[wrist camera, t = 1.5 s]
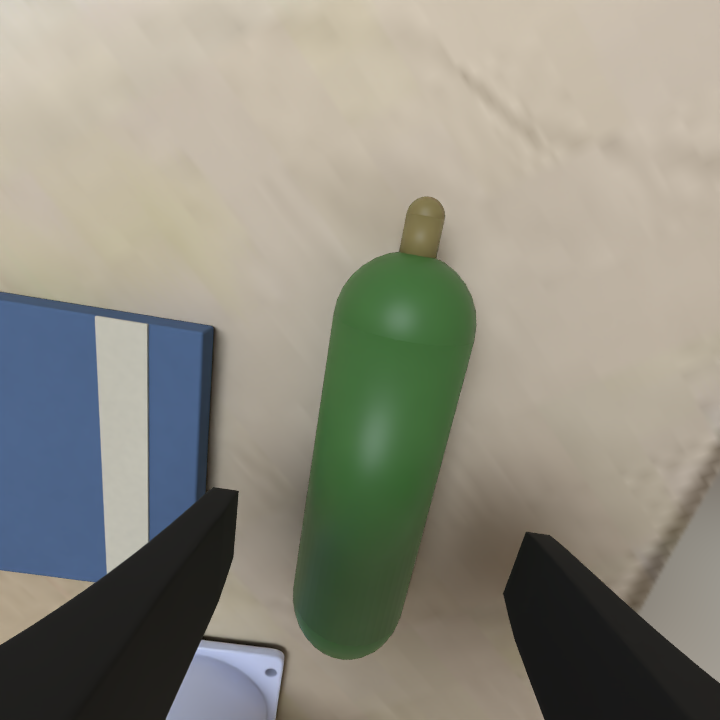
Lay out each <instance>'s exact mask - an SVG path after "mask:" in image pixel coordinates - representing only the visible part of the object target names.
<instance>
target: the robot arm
mask: <svg viewBox="0 0 720 720" xmlns="http://www.w3.org/2000/svg"><path fill="white" fill-rule="evenodd" d="M238 493H239V491H236V490H229V489H222V488H215V487H213V488H212V489H210V490H209V491H208V492H206V493H205V494H204V495H203V496H202V497H201V498H200V499H199V500H197V501H196V502H195V503H194V504H193V505H192V506H191V507H190V508H188V509H187V510H186V511H185V512H184V513H183V514H181V515H180V516H179V517H178V518H177V519H176V520H174V521H173V522H172V523H171V524H170V525H169V526H167V527H166V528H165V529H164V530H163V531H161V532H160V533H159V534H158V535H156V536H155V537H154V538H153V539H151V540H150V541H149V542H148V543H147V544H145V545H144V546H143V547H142V548H140V549H139V550H138V551H137V552H135V553H134V554H133V555H132V556H130V557H129V558H128V559H126V560H125V561H124V562H122V563H121V564H120V565H118V566H117V567H116V568H114V569H113V570H111V571H110V572H109V573H107V574H106V575H105V576H103V577H102V578H101V579H99V580H98V581H97V582H95V583H94V584H93V585H91V586H90V587H88V588H87V589H86V590H84V591H83V592H81V593H80V594H78V595H77V596H76V597H74V598H73V599H71V600H70V601H68V602H67V603H65V604H64V605H62V606H61V607H59V608H58V609H56V610H55V611H53V612H52V613H50V614H49V615H47V616H46V617H44V618H43V619H41V620H40V621H38V622H37V623H35V624H34V625H32V626H30V627H29V628H27V629H26V630H24V631H22V632H21V633H19V634H18V635H16V636H14V637H13V638H11V639H9V640H8V641H6V642H5V643H3V644H1V645H0V720H275V719H276V712H277V706H278V699H279V692H280V685H281V679H282V672H283V665H284V659H285V658H284V654H283V653H282V652H281V651H280V650H278V649H273V648H265V647H257V646H249V645H240V644H232V643H224V642H216V641H208V640H202V637H203V635H204V633H205V631H206V629H207V626H208V624H209V622H210V620H211V617H212V615H213V613H214V611H215V608H216V606H217V604H218V601H219V599H220V596H221V593H222V590H223V587H224V584H225V581H226V578H227V575H228V572H229V569H230V566H231V563H232V560H233V555H234V542H235V530H236V518H237V505H238ZM503 595H504V599H505V603H506V607H507V612H508V616H509V620H510V624H511V627H512V631H513V635H514V639H515V642H516V644H517V647H518V650H519V653H520V655H521V658H522V661H523V664H524V666H525V669H526V672H527V674H528V677H529V680H530V682H531V685H532V688H533V690H534V693H535V696H536V698H537V701H538V704H539V706H540V709H541V711H542V714H543V717H544V719H545V720H720V683H719V682H717V681H716V680H715V679H713V678H712V677H711V676H710V675H709V674H707V673H706V672H705V671H704V670H702V669H701V668H699V666H698V665H696V664H695V663H694V662H693V661H692V660H690V659H689V658H688V657H687V656H686V655H685V654H683V653H682V652H681V651H680V650H679V649H677V648H676V647H675V646H674V645H673V644H671V643H670V642H669V641H668V640H666V638H664V637H663V636H662V635H661V634H660V633H658V632H657V631H656V630H655V629H654V628H653V627H652V626H651V625H649V624H648V623H647V622H646V621H645V620H644V619H643V618H642V617H640V616H639V615H638V614H637V613H636V612H635V611H634V610H633V609H631V608H630V607H629V606H628V605H627V604H626V603H625V602H624V601H623V600H621V599H620V598H619V597H618V596H617V595H616V594H615V593H614V592H613V591H612V590H611V589H609V588H608V587H607V586H606V585H605V584H604V583H603V582H602V581H601V580H600V579H598V578H597V577H596V576H595V575H594V574H593V573H592V572H591V571H590V570H589V569H588V568H587V567H585V566H584V565H583V564H582V563H581V562H580V561H579V560H578V559H577V558H576V557H574V556H573V555H572V554H571V553H570V552H569V551H568V550H567V549H565V548H564V547H563V546H562V545H561V544H560V543H559V542H557V541H556V540H555V539H554V538H552V537H551V536H550V535H545V534H538V533H531V532H526V533H525V536H524V539H523V541H522V544H521V547H520V550H519V552H518V555H517V558H516V560H515V563H514V566H513V568H512V571H511V574H510V576H509V579H508V582H507V584H506V587H505V590H504V592H503Z"/></svg>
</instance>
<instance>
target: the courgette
mask: <svg viewBox="0 0 720 720" xmlns="http://www.w3.org/2000/svg"><path fill="white" fill-rule="evenodd" d="M444 219H445V212H444V208H443V206H442V205H441V203H440V202H439V201H438V200H436V199H435V198H433V197H421V198H418V199H417V200H415V201H414V202H413V203H412V204H411V205H410V206H409V208H408V211H407V214H406V219H405V224H404V230H403V235H402V240H401V245H400V251H399V252H395V253H389V254H386V255H383V256H380V257H377V258H375V259H373V260H371V261H370V262H368V263H366V264H365V265H363V266H362V267H361V268H359V269H358V270H357V271H356V272H355V273H354V274H353V275H352V276H351V277H350V278H349V280H348V281H347V282H346V284H345V285H344V286H343V288H342V290H341V293H340V295H339V297H338V299H337V302H336V306H335V310H334V315H333V322H332V329H331V336H330V343H329V349H328V356H327V363H326V370H325V376H324V383H323V390H322V397H321V404H320V410H319V417H318V424H317V431H316V438H315V444H314V451H313V458H312V465H311V471H310V478H309V485H308V492H307V499H306V505H305V512H304V519H303V526H302V533H301V539H300V546H299V553H298V560H297V566H296V573H295V580H294V588H293V603H294V610H295V614H296V618H297V621H298V623H299V626H300V628H301V630H302V632H303V633H304V635H305V636H306V638H307V639H308V640H309V641H310V642H311V643H312V645H313V646H314V647H315V648H317V649H318V650H319V651H321V652H322V653H324V654H326V655H328V656H330V657H333V658H337V659H342V660H353V659H358V658H362V657H364V656H366V655H368V654H371V653H373V652H375V651H376V650H377V649H379V648H380V647H381V646H382V645H383V644H384V643H385V642H386V641H387V640H388V638H389V637H390V636H391V635H392V634H393V632H394V630H395V628H396V626H397V624H398V621H399V619H400V616H401V613H402V609H403V605H404V602H405V598H406V594H407V590H408V587H409V583H410V579H411V575H412V572H413V568H414V564H415V560H416V557H417V553H418V549H419V545H420V542H421V538H422V534H423V530H424V527H425V523H426V519H427V515H428V512H429V508H430V504H431V500H432V497H433V493H434V489H435V485H436V482H437V478H438V474H439V471H440V467H441V463H442V459H443V456H444V452H445V448H446V444H447V441H448V437H449V433H450V429H451V426H452V422H453V418H454V414H455V411H456V407H457V403H458V399H459V396H460V392H461V388H462V384H463V381H464V377H465V373H466V369H467V366H468V362H469V358H470V354H471V351H472V347H473V343H474V338H475V332H476V310H475V307H474V303H473V299H472V296H471V294H470V292H469V290H468V288H467V286H466V284H465V283H464V281H463V280H462V279H461V278H460V276H459V275H458V274H457V273H456V272H455V271H454V270H453V269H451V268H450V267H449V266H448V265H447V264H445V263H444V262H442V261H440V260H438V259H436V256H437V251H438V247H439V242H440V238H441V233H442V229H443V224H444Z"/></svg>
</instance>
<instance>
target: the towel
mask: <svg viewBox="0 0 720 720" xmlns="http://www.w3.org/2000/svg"><path fill="white" fill-rule="evenodd" d="M213 333H214V328H213V327H212V326H209V325H203V324H196V323H190V322H184V321H178V320H172V319H165V318H159V317H153V316H147V315H141V314H134V313H128V312H122V311H116V310H109V309H103V308H97V307H91V306H85V305H78V304H72V303H66V302H60V301H54V300H47V299H41V298H35V297H29V296H23V295H16V294H10V293H4V292H0V570H4V571H11V572H19V573H27V574H35V575H43V576H51V577H58V578H66V579H74V580H82V581H90V582H97V581H98V580H99V579H101V578H102V577H103V576H105V575H106V574H107V573H109V572H110V571H111V570H113V569H114V568H116V567H117V566H118V565H120V564H121V563H122V562H124V561H125V560H126V559H128V558H129V557H130V556H132V555H133V554H134V553H135V552H137V551H138V550H139V549H140V548H142V547H143V546H144V545H145V544H147V543H148V542H149V541H150V540H151V539H153V538H154V537H155V536H156V535H158V534H159V533H160V532H161V531H163V530H164V529H165V528H166V527H167V526H169V525H170V524H171V523H172V522H173V521H174V520H176V519H177V518H178V517H179V516H180V515H181V514H183V513H184V512H185V511H186V510H187V509H188V508H190V507H191V506H192V505H193V504H194V503H195V502H196V501H197V500H199V499H200V498H201V497H202V496H203V495H204V494H205V492H206V472H207V452H208V432H209V412H210V393H211V373H212V353H213Z"/></svg>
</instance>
